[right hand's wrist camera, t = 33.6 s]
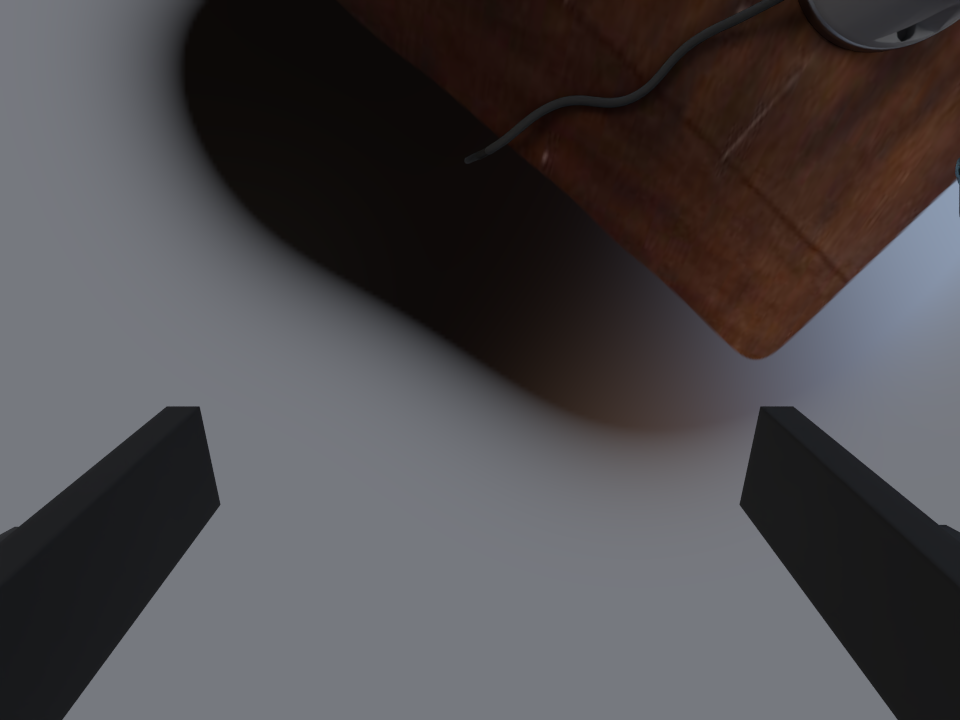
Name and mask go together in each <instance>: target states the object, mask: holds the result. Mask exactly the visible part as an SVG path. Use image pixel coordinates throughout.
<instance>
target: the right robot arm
mask: <svg viewBox="0 0 960 720" xmlns="http://www.w3.org/2000/svg"><path fill="white" fill-rule="evenodd" d="M782 1H784V0H763V1H761V2H759V3H757V4H755V5H753V6H751V7H749V8H747V9H745V10H743V11H741V12H739V13H737V14H735V15H733V16H731V17H729V18H727V19H724V20H722V21H720V22H718V23H716V24H714V25H712V26H710V27H708V28H707V29H705V30H703V31H701V32H700V33H698V34H697V35H695V36H694V37H692V38H691V39H689V40H688V41H687V42H685V43H684V44H683V45H682V46H681V47H679V48H678V49H677V50H676V51H675V52H674V53H673V54H672V55H671V57H670V58H669V59H668V60H667V61H666V62H665V64H664V65H663V66H662V67H661V68H660V70H659V71H658V72H657V73H656V74H655V75H654V76H653V78H652V79H651V80H650V81H649V82H648V83H646V84H645V85H644V86H643V87H641V88H640V89H638V90H637V91H635V92H633V93H631V94H629V95H626V96H623V97H618V98H601V97H592V96H567V97H562V98H559V99H556V100H553V101H551V102H549V103H547V104H545V105H543V106H541V107H539V108H538V109H536V110H535V111H533V112H532V113H530V114H529V115H528V116H527V117H525V118H524V119H523V120H522V121H520V122H519V123H518V124H517V125H516V126H514V127H513V128H512V129H511V130H510V131H509V132H507V133H506V134H505V135H504V136H502V137H501V138H500V139H498V140H497V141H495V142H494V143H492V144H491V145H489V146H487V147H486V148H484V149H482V150H481V151H478V152H475V153H473V154H472V155H470V156H468V157H466V158H465V159H464V162H465V163H466V164H469V163H472V162H474V161H476V160H480V159H483V158H485V157H487V156H489V155H491V154H492V153H494V152H496V151H497V150H499V149H500V148H502V147H503V146H505V145H506V144H507V143H509V142H510V141H511V140H513V139H514V138H515V137H516V136H517V135H519V134H520V133H521V132H522V131H523V130H525V129H526V128H527V127H528V126H529V125H531V124H532V123H533V122H535V121H536V120H537V119H539V118H540V117H542V116H544V115H545V114H547V113H549V112H551V111H553V110H556V109H558V108H561V107H565V106H571V105H585V106H594V107H604V108H613V107H621V106H625V105H628V104H631V103H633V102H635V101H637V100H639V99H641V98H642V97H644V96H645V95H647V94H648V93H649V92H650V91H652V90H653V89H654V88H655V87H656V86H657V85H658V84H659V82H660V81H661V80H662V79H663V78H664V77H665V76H666V74H667V73H668V72H669V71H670V70H671V68H672V67H673V66H674V65H675V64H676V63H677V62H678V61H679V60H680V59H681V58H682V57H683V56H684V55H685V54H686V53H687V52H688V51H690V50H691V49H692V48H694V47H695V46H697V45H698V44H700V43H701V42H703V41H704V40H706V39H708V38H710V37H712V36H713V35H715V34H717V33H720V32H722V31H724V30H726V29H728V28H730V27H732V26H735V25H737V24H739V23H741V22H743V21H745V20H747V19H749V18H751V17H753V16H755V15H757V14H759V13H761V12H763V11H764V10H766V9H768V8H770V7H772V6H774V5H776V4H778V3H780V2H782ZM799 3H800V6H801V8H802V10H803V12H804V14H805V16H806V17H807V19H808V20H809V22H810V23H811V24H812V26H813V27H814V28H815V29H816V30H817V31H818V32H819V33H820V34H821V35H822V36H823V37H825V38H826V39H827V40H829V41H830V42H832V43H834V44H835V45H838V46H840V47H842V48H845V49H849V50H852V51H858V52H882V51H887V50H892V49H896V48H900V47H904V46H908V45H911V44H915V43H917V42H920V41H922V40H925V39H927V38H929V37H931V36H933V35H935V34H937V33H938V32H940V31H942V30H944V29H945V28H947V27H949V26H950V25H952V24H953V23H955V22H956V21H957V20H959V19H960V0H799ZM955 174H956V177H957V180H958V183H959V185H960V158H959V159H958V161H957V164H956V169H955ZM959 188H960V187H959ZM959 215H960V189H959ZM219 506H220V501H219V496H218V491H217V486H216V482H215V477H214V472H213V468H212V463H211V459H210V453H209V449H208V444H207V439H206V435H205V430H204V425H203V421H202V416H201V411H200V407H166V408H164V409H163V410H162V411H161V412H160V413H158V414H157V415H156V416H155V417H153V418H152V419H151V420H150V421H148V422H147V423H146V424H145V425H144V426H142V427H141V428H140V429H139V430H137V431H136V432H135V433H134V434H132V435H131V436H130V437H129V438H128V439H126V440H125V441H124V442H123V443H121V444H120V445H119V446H118V447H117V448H115V449H114V450H113V451H112V452H110V453H109V454H108V455H107V456H105V457H104V458H103V459H102V460H101V461H99V462H98V463H97V464H96V465H94V466H93V467H92V468H91V469H89V470H88V471H87V472H86V473H85V474H83V475H82V476H81V477H80V478H78V479H77V480H76V481H75V482H74V483H72V484H71V485H70V486H69V487H67V488H66V489H65V490H64V491H62V492H61V493H60V494H59V495H57V496H56V497H55V498H54V499H53V500H51V501H50V502H49V503H48V504H46V505H45V506H44V507H43V508H42V509H40V510H39V511H38V512H37V513H35V514H34V515H33V516H32V517H30V518H29V519H28V520H27V521H26V522H24V523H23V524H22V525H21V526H19V527H14V528H12V529H10V530H8V531H6V532H4V533H3V534H1V535H0V720H62V719H63V718H64V717H65V715H66V714H67V713H68V711H69V710H70V708H71V707H72V706H73V704H74V703H75V702H76V700H77V699H78V698H79V696H80V695H81V693H82V692H83V691H84V689H85V688H86V687H87V685H88V684H89V683H90V681H91V680H92V679H93V677H94V676H95V674H96V673H97V672H98V670H99V669H100V668H101V666H102V665H103V664H104V662H105V661H106V660H107V658H108V657H109V655H110V654H111V653H112V651H113V650H114V649H115V647H116V646H117V645H118V643H119V642H120V640H121V639H122V638H123V636H124V635H125V634H126V632H127V631H128V630H129V628H130V627H131V626H132V624H133V623H134V621H135V620H136V619H137V617H138V616H139V615H140V613H141V612H142V611H143V609H144V608H145V607H146V605H147V604H148V602H149V601H150V600H151V598H152V597H153V596H154V594H155V593H156V592H157V590H158V589H159V587H160V586H161V585H162V583H163V582H164V581H165V579H166V578H167V577H168V575H169V574H170V572H171V571H172V570H173V568H174V567H175V566H176V564H177V563H178V562H179V560H180V559H181V558H182V556H183V555H184V553H185V552H186V551H187V549H188V548H189V547H190V545H191V544H192V543H193V541H194V540H195V538H196V537H197V536H198V534H199V533H200V532H201V530H202V529H203V528H204V526H205V525H206V524H207V522H208V521H209V519H210V518H211V517H212V515H213V514H214V513H215V511H216V510H217V509H218V507H219ZM740 506H741V507H742V509H743V510H744V511H745V513H746V514H747V515H748V517H749V518H750V519H751V521H752V522H753V524H754V525H755V526H756V527H757V529H758V530H759V532H760V533H761V534H762V536H763V537H764V538H765V540H766V541H767V543H768V544H769V545H770V547H771V548H772V549H773V551H774V552H775V553H776V555H777V556H778V558H779V559H780V560H781V562H782V563H783V564H784V566H785V567H786V568H787V570H788V571H789V573H790V574H791V575H792V577H793V578H794V579H795V581H796V582H797V583H798V585H799V586H800V587H801V589H802V590H803V592H804V593H805V594H806V596H807V597H808V598H809V600H810V601H811V602H812V604H813V605H814V606H815V608H816V609H817V611H818V612H819V613H820V615H821V616H822V617H823V619H824V620H825V621H826V623H827V624H828V626H829V627H830V628H831V630H832V631H833V632H834V634H835V635H836V636H837V638H838V639H839V640H840V642H841V643H842V645H843V646H844V647H845V648H846V650H847V651H848V653H849V654H850V655H851V657H852V658H853V660H854V661H855V662H856V663H857V665H858V666H859V668H860V669H861V670H862V672H863V673H864V674H865V676H866V677H867V679H868V680H869V681H870V683H871V684H872V685H873V687H874V688H875V689H876V691H877V692H878V693H879V695H880V696H881V698H882V699H883V700H884V702H885V703H886V704H887V706H888V707H889V708H890V710H891V711H892V713H893V714H894V715H895V717H896V718H897V719H898V720H960V532H958V531H956V530H954V529H952V528H951V527H949V526H947V525H938V524H937V523H936V522H934V521H933V520H932V519H931V518H930V517H928V516H927V515H926V514H925V513H923V512H922V511H921V510H920V509H918V508H917V507H916V506H915V505H914V504H912V503H911V502H910V501H909V500H907V499H906V498H905V497H904V496H902V495H901V494H900V493H899V492H898V491H896V490H895V489H894V488H893V487H891V486H890V485H889V484H888V483H887V482H885V481H884V480H883V479H882V478H880V477H879V476H878V475H877V474H875V473H874V472H873V471H872V470H871V469H869V468H868V467H867V466H866V465H864V464H863V463H862V462H861V461H859V460H858V459H857V458H856V457H855V456H853V455H852V454H851V453H850V452H848V451H847V450H846V449H845V448H844V447H842V446H841V445H840V444H839V443H837V442H836V441H835V440H834V439H832V438H831V437H830V436H829V435H828V434H826V433H825V432H824V431H823V430H821V429H820V428H819V427H818V426H816V425H815V424H814V423H813V422H812V421H810V420H809V419H808V418H807V417H805V416H804V415H803V414H802V413H800V412H799V411H798V410H797V409H796V408H794V407H760V411H759V416H758V421H757V425H756V430H755V435H754V439H753V444H752V449H751V453H750V458H749V463H748V468H747V472H746V477H745V482H744V486H743V491H742V496H741V501H740Z"/></svg>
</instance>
